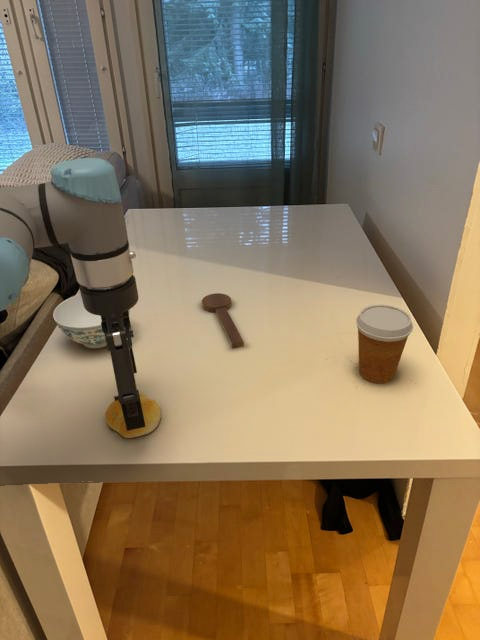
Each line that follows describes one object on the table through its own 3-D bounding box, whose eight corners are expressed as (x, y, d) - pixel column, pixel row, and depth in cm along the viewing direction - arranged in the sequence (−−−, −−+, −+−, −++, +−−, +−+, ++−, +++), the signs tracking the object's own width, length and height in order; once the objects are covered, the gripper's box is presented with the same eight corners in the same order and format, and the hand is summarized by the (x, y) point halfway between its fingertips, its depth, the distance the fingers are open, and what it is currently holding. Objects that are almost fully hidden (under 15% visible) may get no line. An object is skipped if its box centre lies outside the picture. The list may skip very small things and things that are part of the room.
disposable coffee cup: (349, 385, 83) (355, 328, 77) (351, 355, 91) (357, 301, 84) (405, 392, 81) (416, 334, 74) (402, 360, 89) (412, 305, 82)
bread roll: (134, 447, 72) (130, 428, 69) (99, 422, 76) (94, 404, 74) (173, 417, 77) (170, 399, 75) (137, 396, 82) (134, 378, 80)
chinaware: (83, 318, 106) (76, 288, 102) (145, 324, 103) (141, 293, 99) (47, 356, 93) (37, 323, 89) (117, 364, 90) (110, 330, 86)
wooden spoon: (221, 350, 93) (221, 344, 92) (199, 301, 111) (199, 295, 110) (254, 344, 95) (253, 338, 94) (227, 296, 113) (226, 291, 112)
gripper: (144, 318, 54) (166, 448, 65) (127, 242, 74) (147, 351, 85) (76, 330, 52) (112, 461, 63) (79, 249, 73) (105, 359, 84)
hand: (132, 398), depth 74 cm, fingers open, 13 cm apart
